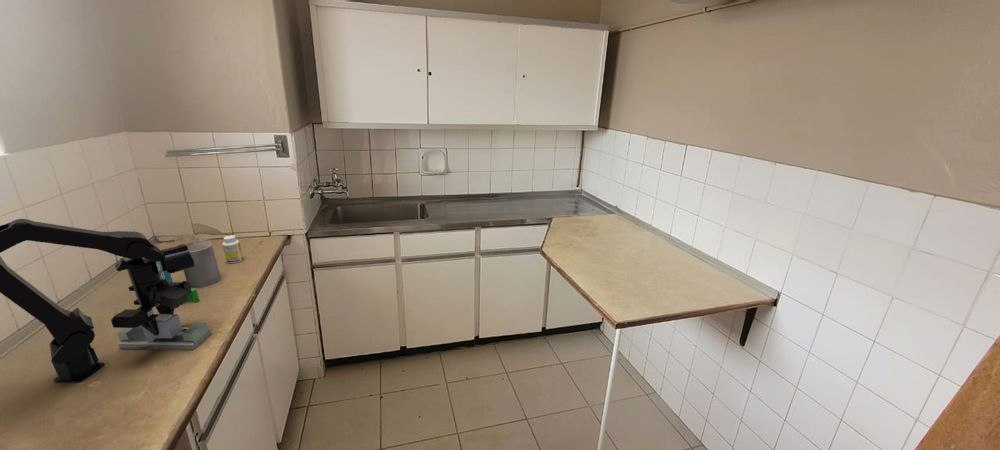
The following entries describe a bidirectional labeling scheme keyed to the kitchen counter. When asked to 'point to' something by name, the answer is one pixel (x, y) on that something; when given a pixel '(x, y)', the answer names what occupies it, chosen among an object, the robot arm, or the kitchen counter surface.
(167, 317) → the block
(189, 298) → the pipe clamp
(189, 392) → the kitchen counter surface
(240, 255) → the supplement bottle
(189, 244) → the pillar candle
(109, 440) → the kitchen counter surface
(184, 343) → the rail
